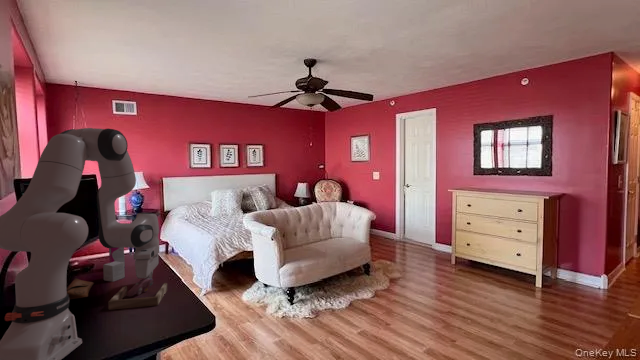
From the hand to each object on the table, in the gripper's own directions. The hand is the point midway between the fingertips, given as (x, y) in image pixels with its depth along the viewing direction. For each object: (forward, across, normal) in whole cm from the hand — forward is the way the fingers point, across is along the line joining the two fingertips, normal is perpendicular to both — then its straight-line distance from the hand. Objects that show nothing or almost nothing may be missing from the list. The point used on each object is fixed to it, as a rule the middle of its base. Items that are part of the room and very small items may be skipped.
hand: (148, 281), depth 141 cm
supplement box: (+3, -34, -24) cm, 42 cm away
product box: (+3, -16, -19) cm, 25 cm away
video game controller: (+3, +6, -1) cm, 7 cm away
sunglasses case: (+3, -3, -27) cm, 28 cm away
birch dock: (+2, +13, 0) cm, 13 cm away
